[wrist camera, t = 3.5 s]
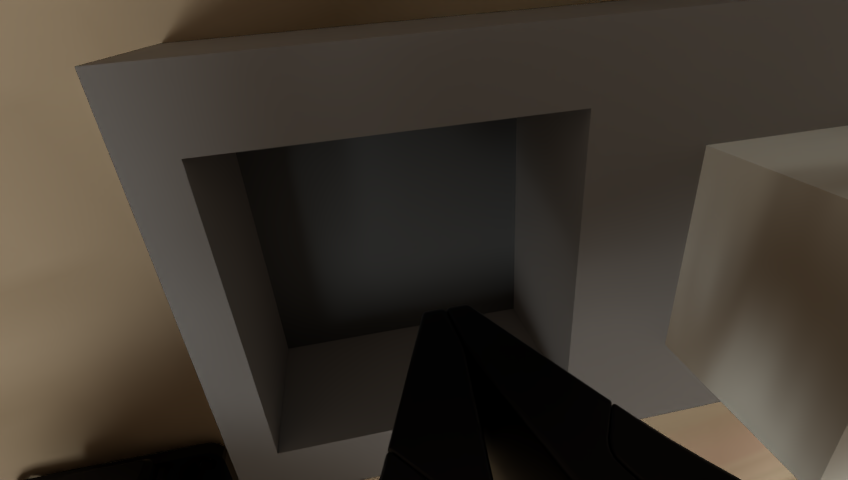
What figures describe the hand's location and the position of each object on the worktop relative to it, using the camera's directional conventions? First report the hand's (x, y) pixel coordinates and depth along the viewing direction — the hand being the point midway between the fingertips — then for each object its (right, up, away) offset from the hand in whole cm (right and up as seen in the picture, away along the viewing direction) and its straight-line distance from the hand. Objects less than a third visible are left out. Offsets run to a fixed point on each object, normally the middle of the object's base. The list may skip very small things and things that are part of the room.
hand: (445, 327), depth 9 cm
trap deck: (+11, +4, +6) cm, 13 cm away
